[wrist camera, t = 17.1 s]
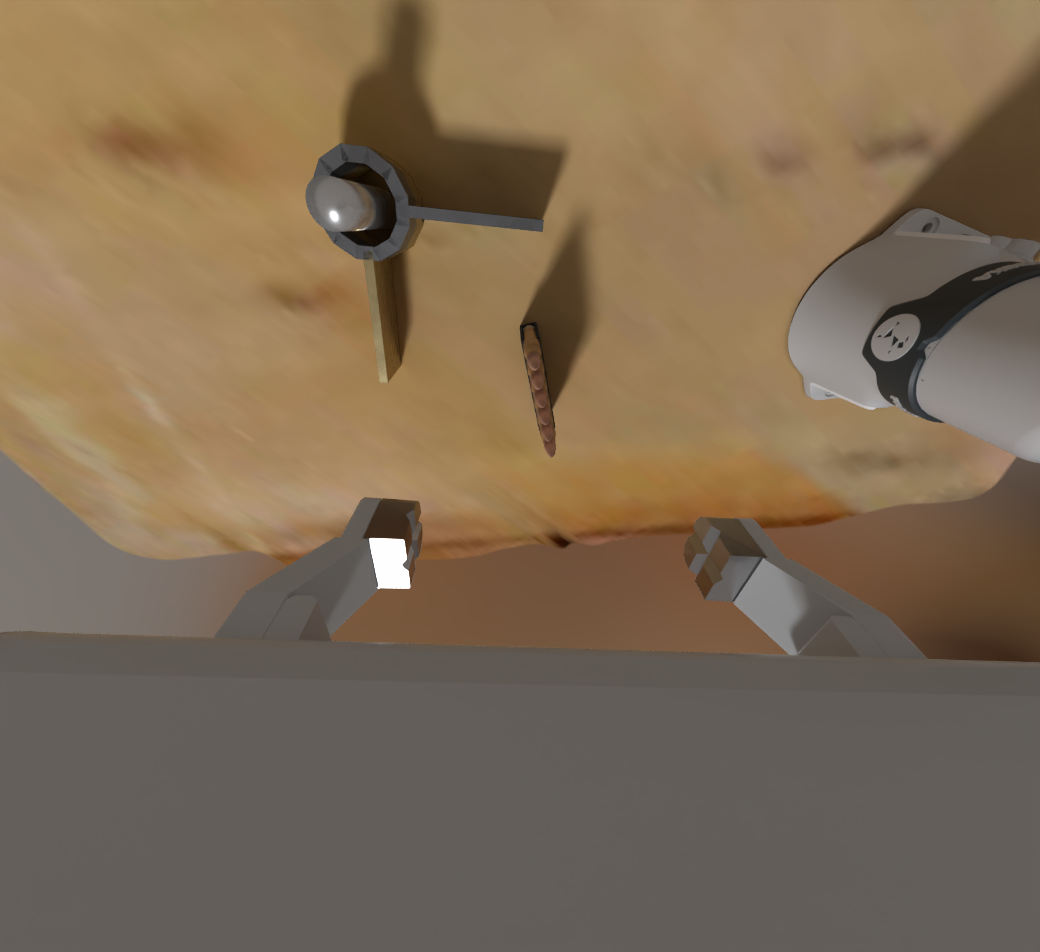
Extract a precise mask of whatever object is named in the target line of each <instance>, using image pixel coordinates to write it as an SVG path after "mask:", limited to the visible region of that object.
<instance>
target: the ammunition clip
mask: <svg viewBox="0 0 1040 952" xmlns="http://www.w3.org/2000/svg"><path fill="white" fill-rule="evenodd" d="M520 335H521V343H522V348H523V353H524V358H525V363H526V368H527V373H528V378H529V383H530V388H531V393H532V397H533V402H534V407H535V412H536V417H537V422H538V427H539V431H540V435H541V438H542V440H543V443H544V447H545V450H546V452H547V454H548V455H549V456H550V457H553V456H554V454H555V450H556V444H555V436H556V433H555V422H554V417H553V411H552V405H551V399H550V394H549V388H548V382H547V376H546V371H545V365H544V359H543V353H542V348H541V342H540V336H539V332H538V328H537V324H536V322H534V323H530V324H525V325H521V326H520Z"/></svg>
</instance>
